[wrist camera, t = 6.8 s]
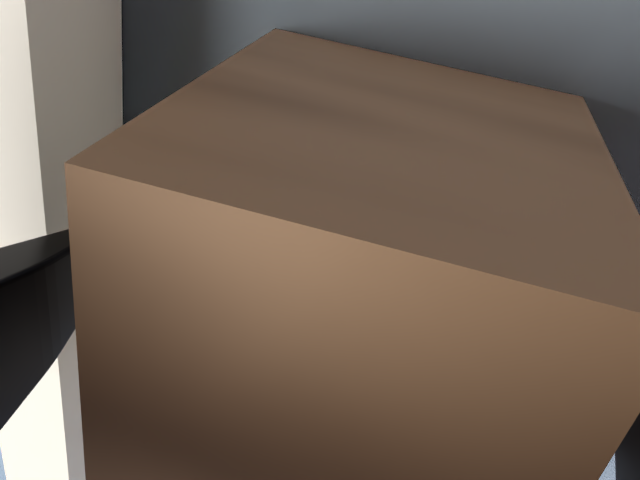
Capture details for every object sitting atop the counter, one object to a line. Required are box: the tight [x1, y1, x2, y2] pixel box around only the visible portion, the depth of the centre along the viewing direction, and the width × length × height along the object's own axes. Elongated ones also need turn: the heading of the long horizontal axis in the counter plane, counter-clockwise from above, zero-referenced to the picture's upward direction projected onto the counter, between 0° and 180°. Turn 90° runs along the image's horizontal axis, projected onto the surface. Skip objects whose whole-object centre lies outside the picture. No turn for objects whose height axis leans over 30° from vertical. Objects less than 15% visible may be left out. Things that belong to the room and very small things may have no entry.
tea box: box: [64, 28, 640, 480], centre depth 9 cm, size 7×5×6 cm
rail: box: [0, 0, 123, 480], centre depth 11 cm, size 24×2×2 cm, turn 171°
